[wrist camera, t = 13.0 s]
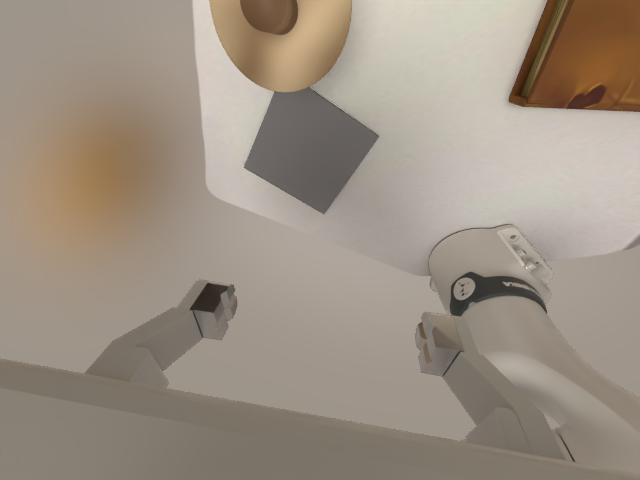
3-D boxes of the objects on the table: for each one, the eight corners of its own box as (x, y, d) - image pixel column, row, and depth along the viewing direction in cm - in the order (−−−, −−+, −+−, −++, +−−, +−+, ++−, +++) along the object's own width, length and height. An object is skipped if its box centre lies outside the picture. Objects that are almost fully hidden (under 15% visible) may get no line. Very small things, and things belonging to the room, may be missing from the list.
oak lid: (381, -30, 18) (386, -52, 15) (309, 115, 25) (299, 127, 21) (238, -146, 16) (199, -208, 12) (199, 44, 23) (165, 43, 19)
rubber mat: (378, 135, 39) (379, 136, 38) (324, 212, 48) (324, 214, 47) (284, 70, 36) (283, 71, 35) (245, 166, 45) (243, 167, 44)
